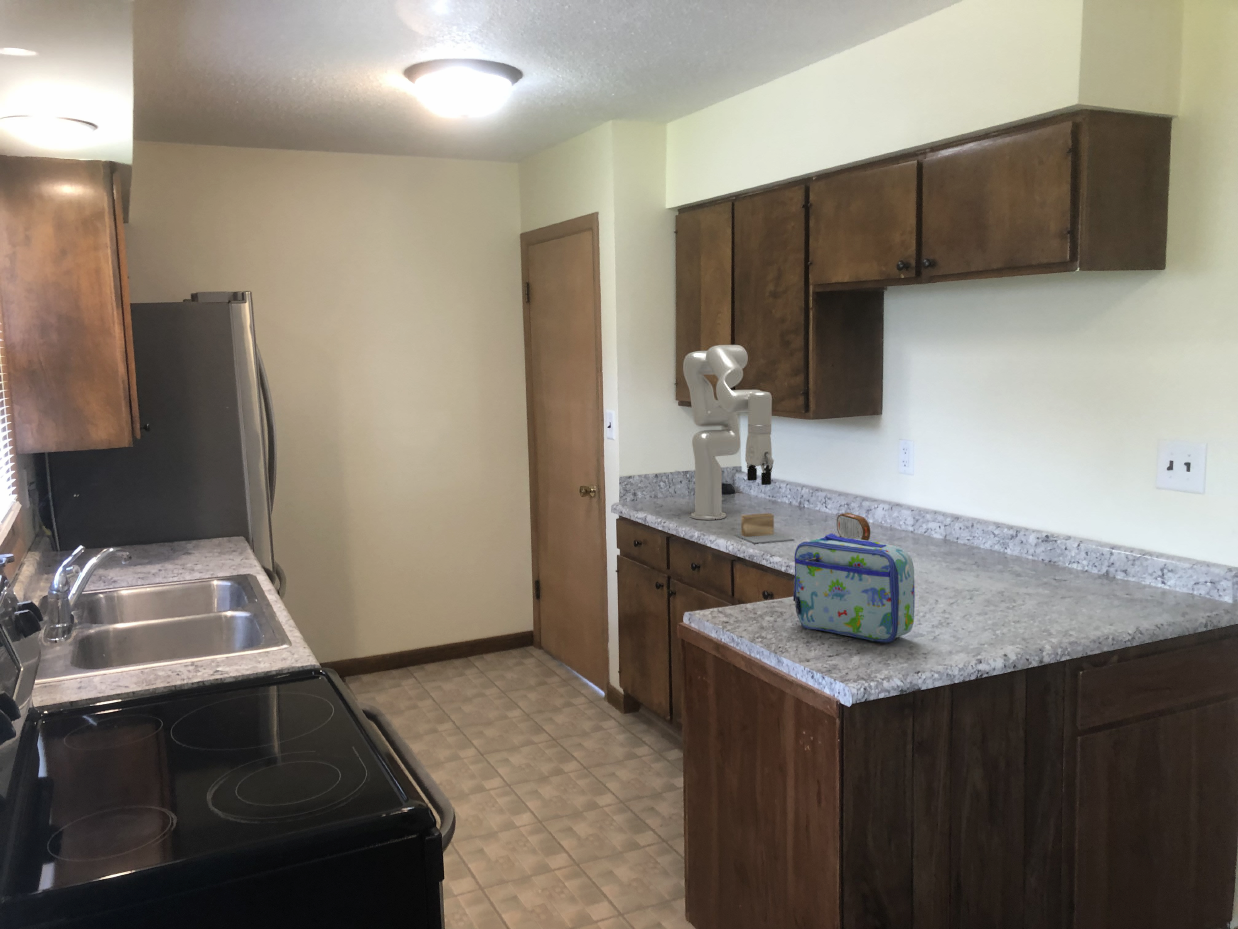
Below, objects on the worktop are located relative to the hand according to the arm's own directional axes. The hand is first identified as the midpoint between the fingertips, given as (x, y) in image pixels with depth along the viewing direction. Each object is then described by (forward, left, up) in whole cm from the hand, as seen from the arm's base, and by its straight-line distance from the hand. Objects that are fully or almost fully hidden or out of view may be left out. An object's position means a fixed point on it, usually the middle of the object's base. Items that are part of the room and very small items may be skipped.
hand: (758, 482), depth 311 cm
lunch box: (+101, -30, -18) cm, 107 cm away
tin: (+18, +24, -18) cm, 35 cm away
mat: (+3, 0, -18) cm, 18 cm away
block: (0, -1, -17) cm, 17 cm away
